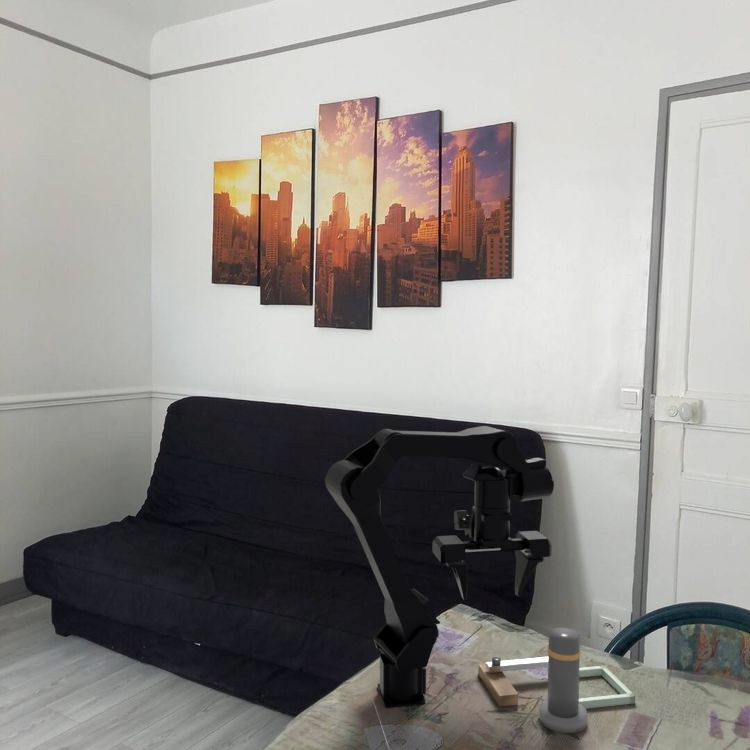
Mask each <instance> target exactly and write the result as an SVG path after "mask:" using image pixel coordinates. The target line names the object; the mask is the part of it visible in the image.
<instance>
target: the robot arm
mask: <svg viewBox="0 0 750 750" xmlns="http://www.w3.org/2000/svg"><path fill="white" fill-rule="evenodd" d="M517 445H518V442H517V440H516V437H515V436H514V434H513V433H512V432H510V431H507V430H503V429H498V428H494V427H492V426H488V425H480V426H475V427H470V428H466V429H464V430H460V431H456V432H449V431H421V430H420V431H418V430H417V431H415V430H414V431H413V430H393V429H389V428H383V429H380V430H379V431H378V432H377V433H375V435H374V436H372V437H371V438H370V440H367V441H366V442H364V443H363V444H361V445H360V446H358V447H357V448H356V449H354V450H352V451H351V452H350V453H349V454H347V456H346V457H344V458H343V460H338V461H336V462H335V463H333V464H332V465H331V467H330V468H328V470H327V473H326V476H325V478H324V482H325V483H324V484H325V487H326V489H327V491H328V492H329V494H330V496H331V497H332V498H333V499H334V501H335V502H336V504H337V505H338V507H339V508H340V509H341V510H342V512H343V513H344V514H345V515H346V517H347V518H348V519H349V521H350V522H351V523H352V525H353V528H354V530H355V533H356V535H357V537H358V539H359V542H360V544H361V547H362V549H363V551H364V553H365V555H366V558H367V560H368V563H369V564H370V567H371V569H372V572H373V574H374V576H375V579H376V581H377V583H378V586H379V588H380V590H381V592H382V594H383V595H382V596H383V597H384V606H383V607H384V608H383V610H384V611H383V612H384V615H385V623H384V624H383V625H382V627H381V628H380V629H379V630H378V632H377V633H376V634H375V635H374V637H373V641H374V645H375V647H376V649H377V650H378V651H380V653H381V654H379V682H378V683H377V690H378V693H379V695H380V699H381V701H382V703H383V707H384V708H386V709H387V708H398V707H399V708H400V707H405V706H406V707H408V706H415V705H416V706H418V705H425V704H426V702H427V701H426V697H425V695H426V693H427V666H428V663H429V660H430V657H431V654H432V651H433V648H434V645H435V644H436V642H437V639H438V638H439V627H438V625H440V624H441V621H440V620H439V619H438V618H437V617H436V615H435V611H434V608H433V604H432V602H431V600H429V599H428V598H427V597H426V596H424V595H423V594H421V592H419V591H418V590H416V589H415V588H414V587H413V588H411V585H410V583H409V580H408V578H407V576H406V573H405V571H404V568H403V565H402V564H401V562H400V559H399V556H398V555H397V552H396V550H395V547H394V545H393V542H392V540H391V537H390V535H389V533H388V530H387V528H386V526H385V522H384V521H383V518H382V515H381V503H382V500H381V495H380V489H379V488H380V487H381V486H383V484H384V483H385V482H386V481H387V479H389V477H390V474H392V471H393V469H394V468H395V466H396V465H397V462H399V461H400V460H401V458H430V459H431V458H433V459H434V458H435V459H436V458H438V459H439V458H440V459H441V458H443V459H444V458H445V459H446V458H448V459H451V458H452V459H467V460H471V461H473V463H472V464H471V465H470V467H468V469H466V470H465V471H464V472H463V473H462V477H464V479H465V478H466V479H468V480H471V481H473V482H474V505H473V506H472V509H471V514H469V515H468V510H464V509H463V510H455V511H454V512H453V525H454V530H455V531H457V530H459V531H460V530H461V531H462V530H464V535H465V536H469V538H470V539H473V540H469V541H468V540H467V541H462V540H461V539H460V538H459V537H458V536H457V535H455V534H453V535H451V534H450V535H437V536H435V537H434V539H433V540H432V554H434V556H435V558H437V560H438V561H439V562H440V564H441V563H442V564H445V565H446V567H448V568H450V569H452V572H453V574H454V577H455V580H456V583H457V586H458V589H459V593H460V595H461V598H462V599H463V601H466V600H467V597H468V564H467V563H466V562H465V560H464V559H466V554H480V553H481V554H482V553H496V552H497V553H499V552H514V554H515V561H516V562H515V575H514V577H515V578H514V594H515V595H516V597H520V596H521V594H522V592H523V590H524V588H525V586H526V584H527V582H528V581H529V579H530V577H531V575H532V573H533V572H534V570H535V569H536V568H537V566H538V565H539V563H543V562H544V559H545V558H550V557H551V556H552V548H553V547H552V543H551V540H550V539H549V538H548V537H546V536H545V535H544V534H542V533H540V532H539V531H538V530H526V531H525V530H524V531H522V530H521V531H517V533H516V534H515V538H511V537H510V533H511V532H510V531H511V530H510V526H511V525H510V522H511V521H513V513H512V512H511V499H512V500H513V501H514V502H527V501H532V500H541V499H547V498H549V497H551V495H552V494H553V492H554V488H555V481H554V480H553V476H552V473H551V471H550V468H548V467H547V460H546V459H544V458H541V457H533V458H529V459H526V458H525V457H524V456H523V453H521V451H520V449H519V448H518V446H517ZM474 461H475V462H479V463H483V464H487V465H492V466H484V467H483V466H482V465H480V464H478V463H474ZM498 467H501V468H502V467H504V468H505V469H500V468H498Z"/></svg>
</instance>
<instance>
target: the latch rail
mask: <svg viewBox="0 0 750 750" xmlns="http://www.w3.org/2000/svg"><path fill="white" fill-rule="evenodd" d="M477 668H478V669H477V670H478V676H479V677H480V679H481V680H482V682H483V684H484V685H485V687H486V688H487V690H488V692H489V693H490V694H491V696H492V697H493V699H494V700H495V702H496V704H497V705H498V707H508V706H519V693H518V692H517V690H516V689H515V688H514V685H512V683H511V681H510V680H509V679H508V678H507V676H506V675H505V674H504V672H494V673H489V672H488V671H487V669H486V663H479V664H478V666H477Z"/></svg>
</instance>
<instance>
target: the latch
mask: <svg viewBox="0 0 750 750" xmlns="http://www.w3.org/2000/svg"><path fill="white" fill-rule="evenodd" d="M485 664H486V669H487V671H488V672H489V673H494V672H503V673H504V672H512V671H513V672H514V671H525V670H536V669H543V668H544V669H545V668H547V669H548V656H540V657H539V656H538V657H530V658H529V657H527V658H520V659H519V658H517V659H507V660H502V659H501V658H500V657H498V656H493V657H492V658H491V661H485Z"/></svg>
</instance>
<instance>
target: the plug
mask: <svg viewBox="0 0 750 750" xmlns="http://www.w3.org/2000/svg"><path fill="white" fill-rule="evenodd" d="M580 646H581V635H580V633H579V632H578V631H576V630H575V629H571V628H567V627H555V628H552V629H550V630H549V631H548V643H547V648H546V650H547V651H546V652H547V654H548V655H547V657H548V668H547V698H546V699H543V700H542V701H541V702H540V703H539V705H538V706H539V707H538V718H539V721H540V723H541V724H542V726H544V727H546V728H547V729H550V730H552V731H555V732H557V733H562V734H575V733H579V732H581V731H584V730H585V729H586V728H587V724H588V712H587V708H586V709H585V708H584V707H583V706H582V705H581V704H580V703H579V699H580V698H579V697H580V677H579V668H580V659H581V656H582V654H581V653H582V652H581V651H582V649H581V647H580Z"/></svg>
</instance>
